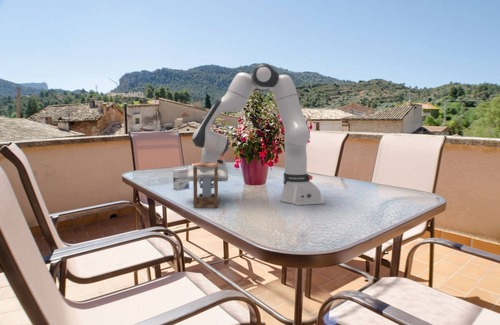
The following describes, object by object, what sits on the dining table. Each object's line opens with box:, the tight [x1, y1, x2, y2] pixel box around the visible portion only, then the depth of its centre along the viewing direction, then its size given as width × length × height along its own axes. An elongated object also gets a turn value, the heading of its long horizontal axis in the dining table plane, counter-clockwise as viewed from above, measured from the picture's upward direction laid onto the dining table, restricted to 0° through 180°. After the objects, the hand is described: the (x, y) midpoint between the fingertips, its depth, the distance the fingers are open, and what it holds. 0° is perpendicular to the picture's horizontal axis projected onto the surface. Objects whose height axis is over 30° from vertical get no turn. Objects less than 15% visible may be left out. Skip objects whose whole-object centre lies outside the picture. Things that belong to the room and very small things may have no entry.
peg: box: [201, 178, 213, 197], centre depth 144 cm, size 4×4×10 cm
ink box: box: [172, 167, 190, 191], centre depth 177 cm, size 8×5×12 cm, turn 144°
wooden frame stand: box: [192, 161, 221, 209], centre depth 143 cm, size 11×14×20 cm
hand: (206, 187), depth 143 cm, fingers closed on peg, 4 cm apart
